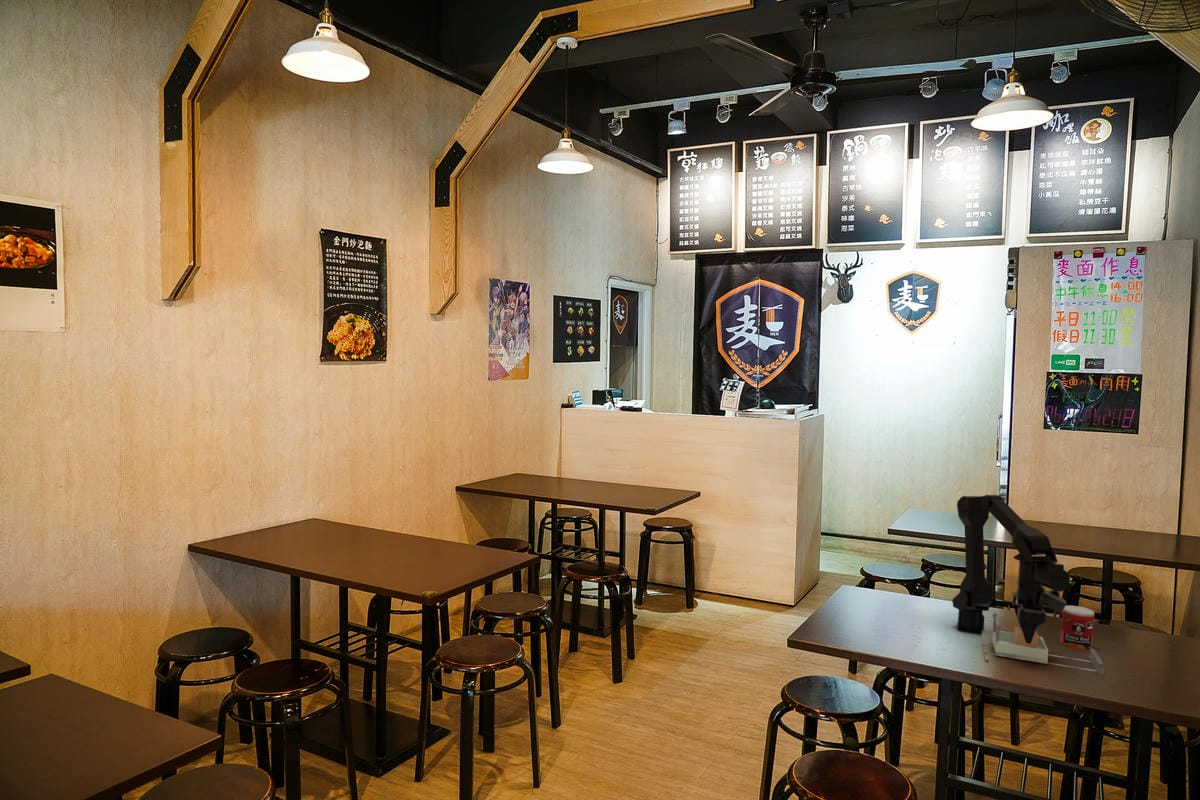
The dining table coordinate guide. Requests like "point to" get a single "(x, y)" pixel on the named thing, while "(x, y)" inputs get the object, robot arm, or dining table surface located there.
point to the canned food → (1077, 627)
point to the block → (1020, 638)
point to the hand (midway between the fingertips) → (1026, 637)
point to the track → (1092, 656)
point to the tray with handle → (1016, 646)
